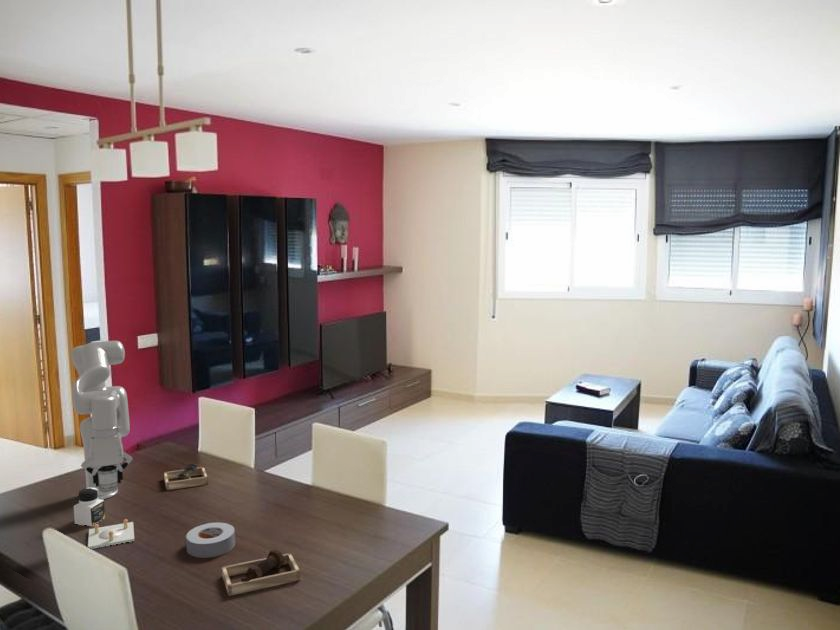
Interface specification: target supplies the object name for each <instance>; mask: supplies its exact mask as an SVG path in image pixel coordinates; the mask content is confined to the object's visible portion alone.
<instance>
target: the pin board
mask: <svg viewBox="0 0 840 630" xmlns="http://www.w3.org/2000/svg"><path fill="white" fill-rule="evenodd" d="M122 522H123V523H119V524H117V523H116V524H112V525H105V526H101V527H100V525H99V524H98V523H97V524H95V525H93V528H89V529H88V538H87V539H88V540H87V548H88V547H89V548H91V549H90V550H95V549H100V548H106V547H111V546H110V545H112V546H117V545H116V544H118V545H122V544H121V543H123V544H127V543H126V542H129V543H133V542H132V541H134V542H135V531H134V530H135V529H134V526H135V525H134V521H130V522H129V520H128V519H127V518H125V519H123V521H122ZM105 546H106V547H105ZM99 547H100V548H99Z"/></svg>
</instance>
